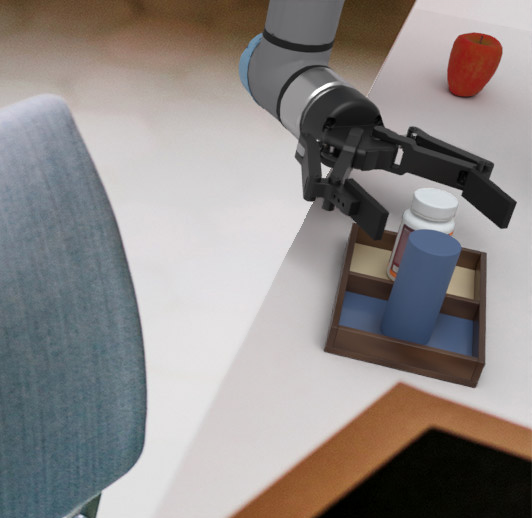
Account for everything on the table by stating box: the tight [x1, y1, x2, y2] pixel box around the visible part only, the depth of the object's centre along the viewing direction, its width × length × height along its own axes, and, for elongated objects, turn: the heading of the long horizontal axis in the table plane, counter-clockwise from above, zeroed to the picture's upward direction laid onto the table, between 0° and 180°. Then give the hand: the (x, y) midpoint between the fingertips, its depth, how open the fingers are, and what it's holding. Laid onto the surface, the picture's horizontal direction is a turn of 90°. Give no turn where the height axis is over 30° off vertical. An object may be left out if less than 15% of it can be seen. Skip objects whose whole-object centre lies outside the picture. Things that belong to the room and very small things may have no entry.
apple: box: [446, 32, 504, 97], centre depth 150 cm, size 6×6×8 cm
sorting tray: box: [323, 222, 488, 389], centre depth 108 cm, size 13×20×3 cm, turn 164°
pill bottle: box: [387, 187, 459, 281], centre depth 110 cm, size 5×5×8 cm
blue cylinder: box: [381, 229, 462, 345], centre depth 102 cm, size 4×4×9 cm
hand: (446, 221), depth 106 cm, fingers open, 13 cm apart
